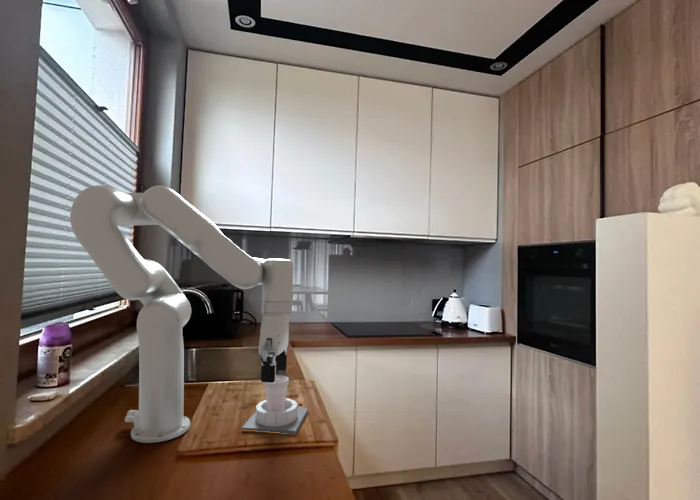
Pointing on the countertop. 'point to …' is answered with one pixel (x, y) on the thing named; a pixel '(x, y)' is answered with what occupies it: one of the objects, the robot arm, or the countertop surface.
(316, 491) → the countertop surface
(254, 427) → the holder
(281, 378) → the smoothie
